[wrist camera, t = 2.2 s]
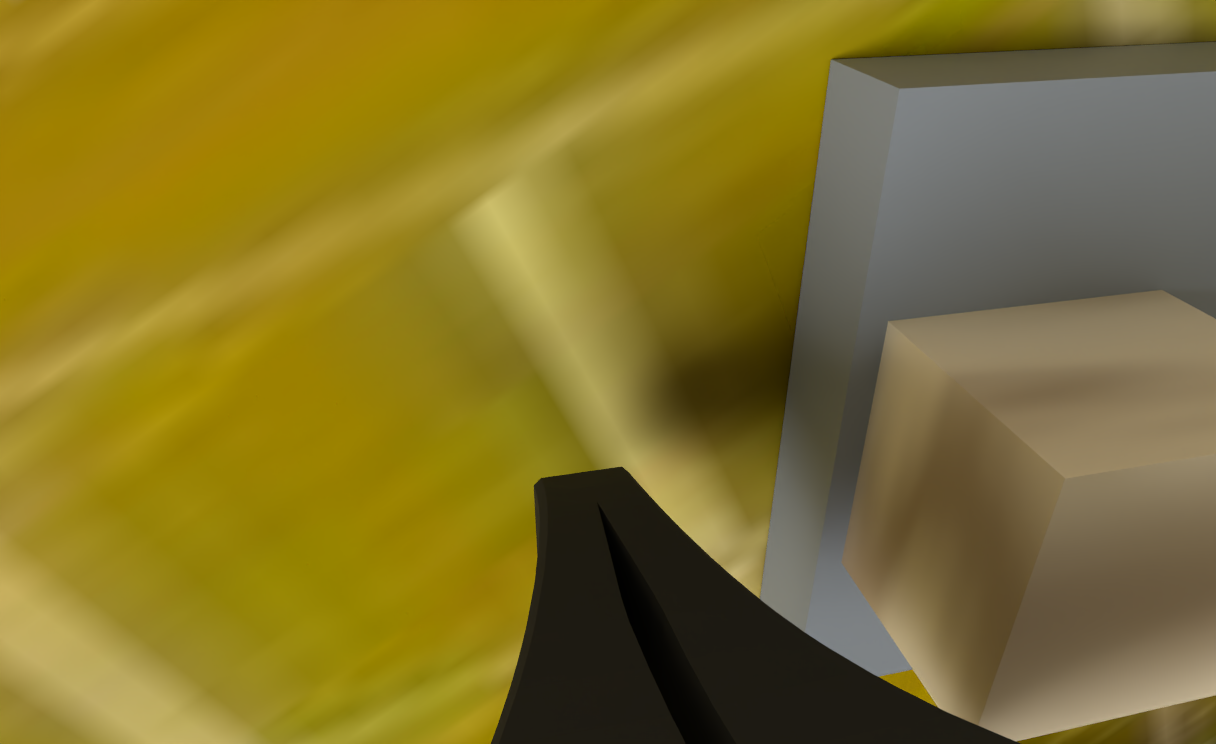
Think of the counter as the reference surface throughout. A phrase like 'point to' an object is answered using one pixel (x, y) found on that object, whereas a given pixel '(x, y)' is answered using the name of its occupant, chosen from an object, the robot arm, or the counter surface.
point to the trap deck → (971, 250)
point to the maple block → (1045, 509)
